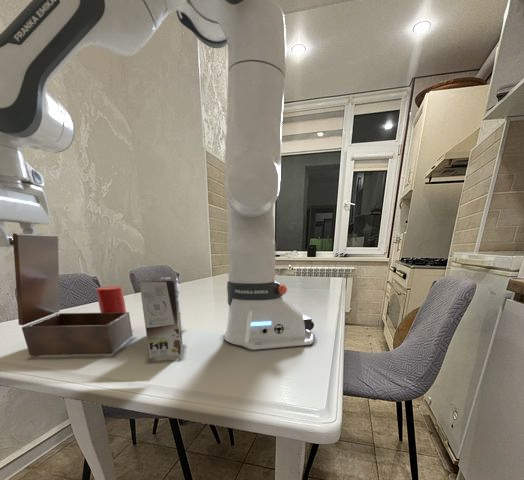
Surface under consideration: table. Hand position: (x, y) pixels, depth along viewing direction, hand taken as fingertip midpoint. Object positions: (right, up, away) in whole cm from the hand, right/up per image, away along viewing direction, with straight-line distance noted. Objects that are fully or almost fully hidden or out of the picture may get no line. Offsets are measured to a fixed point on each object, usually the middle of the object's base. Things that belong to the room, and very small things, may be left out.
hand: (18, 246), depth 59 cm
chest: (+9, -20, +8) cm, 24 cm away
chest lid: (+3, -6, +2) cm, 7 cm away
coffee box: (+29, -22, +5) cm, 36 cm away
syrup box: (+25, -17, +19) cm, 35 cm away
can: (+10, -16, +19) cm, 27 cm away
